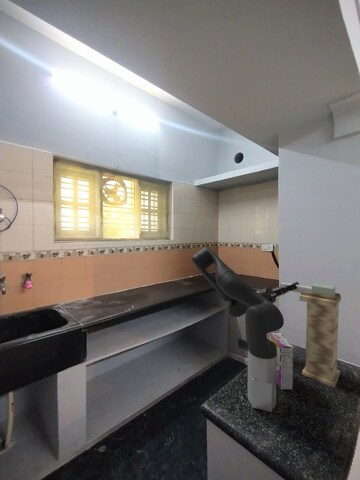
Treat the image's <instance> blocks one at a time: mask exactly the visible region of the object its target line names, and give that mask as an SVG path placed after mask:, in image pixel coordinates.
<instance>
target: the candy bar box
mask: <svg viewBox="0 0 360 480" xmlns="http://www.w3.org/2000/svg"><path fill="white" fill-rule="evenodd" d="M268 334H269V335H268V337H269V338H268V339H269V340H271V341H272V342H274V343H275V345H276V347H277V372H276V386H278V388H279V390H283V391H284V390H285V391H286V390H291V391H292V390H293V389H294V387H293V386H294V346H293V345H292V343H291V342H289V340H288V339H287V338H286V337H285V336H284V335H283V334H282V332H269V333H268Z"/></svg>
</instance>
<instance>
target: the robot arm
mask: <svg viewBox="0 0 360 480" xmlns="http://www.w3.org/2000/svg"><path fill="white" fill-rule="evenodd" d="M191 260H192V263H193V265H194V266H195V267H196V268H197V270H198V271H199V272H200V274H202V275H203V277H204V278H205V279H206V280H207V281H208V282H209V284H210V285H211V286H212V287H213V288H214V289H215V290H216V292H217V294H218V295H219V296H220V299H222V300H223V302H226V303H227V302H229V305H228V307H227V314H228V315H229V316H231V317H232V318H240V317H242V316H244V315H245V317H244V320H245V321H244V322H245V323H244V325H245V340H246V343H247V399H248V402H249V403H250V405H251V408H254V409H258V410H261V411H265V412H269V413H272V412H273V409H275V407H276V406H277V383H276V372H277V347H276V345H275V343H274V342H272V341H271V340H269V338H268V336H267V335H268V334H269V333H274V332H276V331H279V330H280V329H282V327H284V324H285V322H284V321H285V319H284V315H283V313H282V312H281V310H280V309H279V308H278V306H276V305H275V304H274V303H276V301H277V298H279V297H281V296H284V295H286V294H287V293H289V292H292V291H291V290H294V289H297V286H296V285H300V284H299V283H300V282H298V281H296V282H293V283H290V284H291V285H289V286H287V287H286V286H284V287H283V288H282V287H280V286H277V287H274V288H271V287H270V286H266V287H263V288H261V289H258V290H255V289H254V288H253V287H252V286H251V285H250V284H249V283H247V281H245V280H244V279H243V278H242V277H241V276H240V275H239V274H238V273H236V271H234V270H233V269H232V268H231V267H229V266H228V265H227V264H226V263H225V262H224V261H223V260H222V259H221V258H220V257H219V256H218V255H217V254H216V253H215V252H214V251H213V250H212V249H211V248H210V247H208V246H205V247H203V248H201V249H199V250H198V251H197V252H196V253H194V254H193V255H192V256H191ZM213 264H214V267H215V274H212V273H210V272H209V271H208V270H207V269H208V268H210V267H211V266H212V265H213Z"/></svg>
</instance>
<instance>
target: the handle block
mask: <svg viewBox="0 0 360 480" xmlns="http://www.w3.org/2000/svg"><path fill="white" fill-rule="evenodd" d="M291 284H292V283H289V282H283V281H282V282H281V283H279V287H282V288H283V287H284V286H286V287H287V286H289V285H291ZM296 286H297V289H294V290H291V291H290V292H294V293H299V294H301V291H303V292H308V293H314V294H320V295H325V296H331V297H335V293H336V285H335V286H334V285H328V284H322V283H314V284H312V285H311V286H307V285H301V284H299V285H296Z"/></svg>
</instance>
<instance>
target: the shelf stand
mask: <svg viewBox="0 0 360 480" xmlns="http://www.w3.org/2000/svg"><path fill="white" fill-rule="evenodd" d="M341 300H342V296H341V293H339V292H335V297H331V296H325V295H320V294H314V293H308V292H303V291H301V293H300V295H299V300H298V301H300V302H306V329H305V333H306V335H305V340H306V341H305V366H304V367H303V369H302V371H301V375H303V376H305V377H308V378H310V379H312V380H315V381H317V382H319V383H322V384H324V385H327V386H329V387H331V388H334V389H335V388H336V386H337V382H338V380H339V377H340V375H341V371H340V370H339V369H338V367H337V365H338V342H339V340H338V339H339V338H338V337H339V335H338V334H339V333H338V332H339V310H340V309H339V308H340V307H339V306H340V304H339V303H340V302H341Z"/></svg>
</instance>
